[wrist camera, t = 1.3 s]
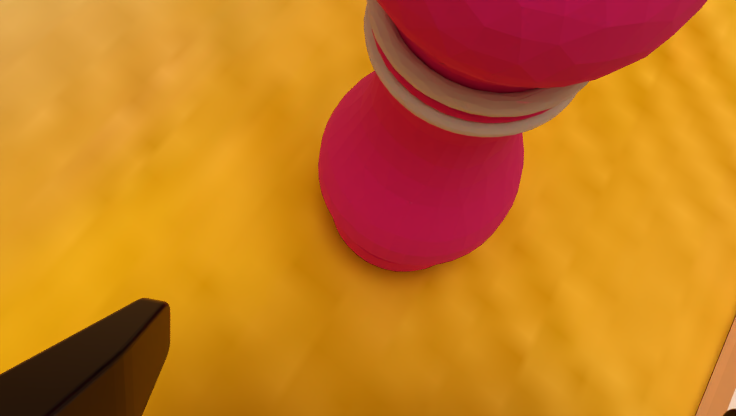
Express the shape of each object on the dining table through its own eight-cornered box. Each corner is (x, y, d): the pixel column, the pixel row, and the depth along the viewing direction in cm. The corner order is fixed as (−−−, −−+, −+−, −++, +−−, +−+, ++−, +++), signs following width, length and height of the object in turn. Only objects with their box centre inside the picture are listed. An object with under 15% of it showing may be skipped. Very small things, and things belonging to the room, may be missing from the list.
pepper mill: (389, 100, 25) (599, -803, 6) (512, 195, 24) (1262, -506, 5) (285, 210, 23) (74, -605, 4) (414, 319, 22) (1023, -26, 3)
